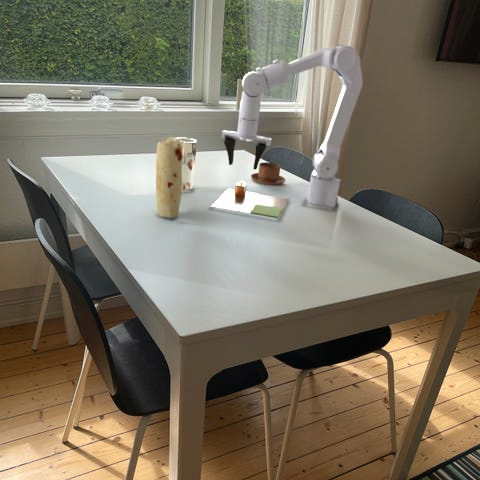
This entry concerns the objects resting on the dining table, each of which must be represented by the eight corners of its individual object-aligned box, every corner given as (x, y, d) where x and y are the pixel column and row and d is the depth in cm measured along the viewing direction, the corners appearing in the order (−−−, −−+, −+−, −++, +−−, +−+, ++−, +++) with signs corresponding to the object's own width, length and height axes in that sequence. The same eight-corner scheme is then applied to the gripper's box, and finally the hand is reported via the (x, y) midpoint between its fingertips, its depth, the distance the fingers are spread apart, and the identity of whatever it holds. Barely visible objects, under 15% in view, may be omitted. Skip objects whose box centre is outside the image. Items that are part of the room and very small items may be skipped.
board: (288, 201, 153) (289, 198, 152) (278, 221, 136) (279, 218, 135) (227, 191, 156) (228, 188, 155) (210, 209, 139) (210, 206, 138)
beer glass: (196, 187, 155) (198, 139, 148) (192, 194, 149) (194, 143, 142) (174, 185, 156) (176, 136, 148) (170, 191, 150) (171, 140, 142)
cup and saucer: (285, 189, 164) (288, 171, 160) (250, 186, 163) (252, 167, 160) (283, 180, 174) (286, 162, 171) (250, 176, 173) (252, 159, 170)
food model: (184, 221, 129) (187, 143, 118) (159, 221, 127) (160, 142, 116) (177, 208, 137) (179, 134, 126) (153, 208, 135) (154, 133, 124)
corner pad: (282, 209, 143) (282, 208, 143) (277, 217, 136) (277, 216, 136) (255, 204, 144) (255, 203, 144) (250, 212, 137) (250, 211, 137)
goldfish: (238, 190, 154) (239, 178, 152) (246, 192, 153) (248, 179, 151) (233, 196, 148) (234, 183, 146) (242, 197, 148) (243, 185, 146)
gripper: (220, 116, 137) (216, 164, 144) (270, 124, 135) (263, 173, 142) (227, 113, 143) (222, 160, 150) (275, 121, 141) (268, 168, 148)
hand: (242, 166), depth 146 cm, fingers open, 7 cm apart
